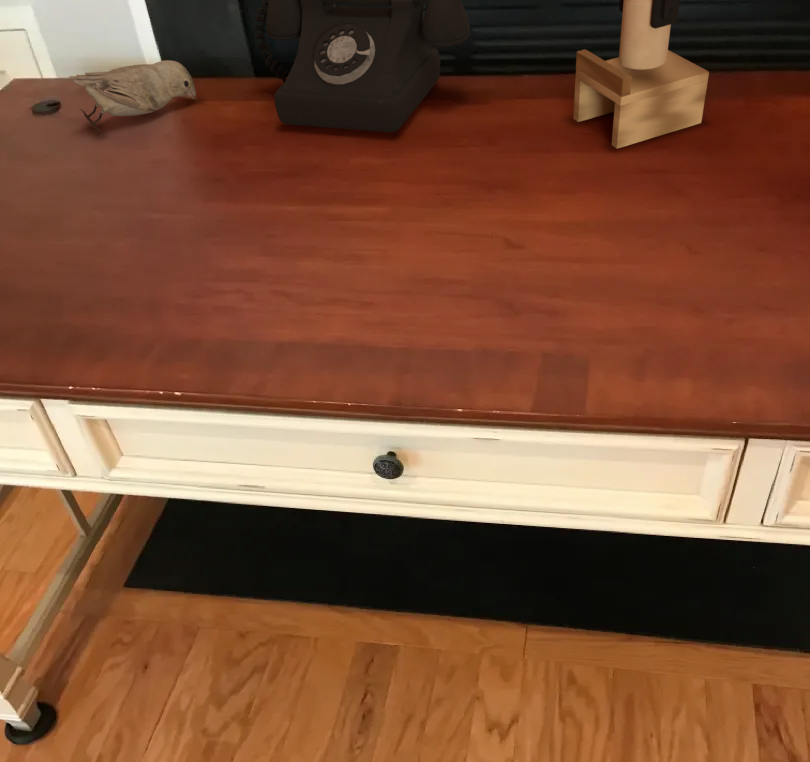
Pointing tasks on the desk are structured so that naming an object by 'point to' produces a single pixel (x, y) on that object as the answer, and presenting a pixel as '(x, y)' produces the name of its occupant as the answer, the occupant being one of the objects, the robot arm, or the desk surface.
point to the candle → (642, 37)
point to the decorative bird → (136, 88)
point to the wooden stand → (640, 96)
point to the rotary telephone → (359, 58)
